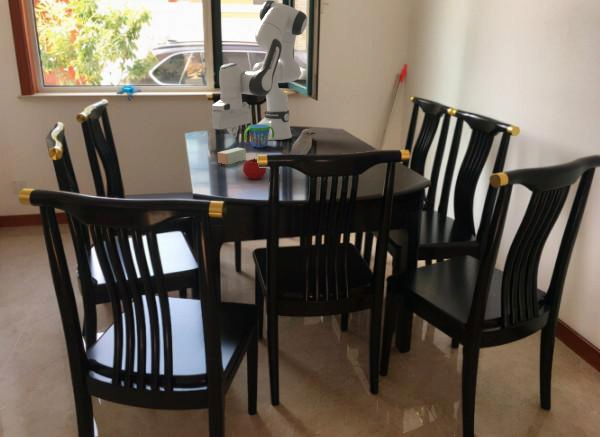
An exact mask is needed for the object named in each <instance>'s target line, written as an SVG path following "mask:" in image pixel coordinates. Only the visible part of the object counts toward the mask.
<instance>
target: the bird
mask: <svg viewBox="0 0 600 437" xmlns="http://www.w3.org/2000/svg"><path fill="white" fill-rule="evenodd" d="M315 134H316V132H314V131H313V130H312V129H309V128H305V129H303V130H302V131H301V132H300V135H299V136H298V138H297V139H296V140H295V141H294V144H293V146H292V147H291V150H290V151H289V152H288V155H289V154H306V155H307V154H308V153H309V151H310V149H311V148H312V143H313V139H312V138H313V135H315Z"/></svg>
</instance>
